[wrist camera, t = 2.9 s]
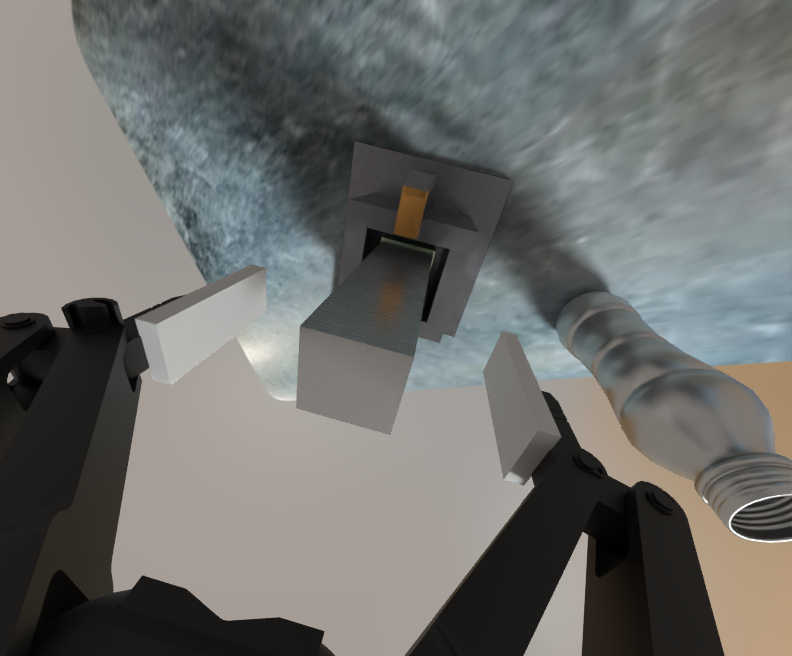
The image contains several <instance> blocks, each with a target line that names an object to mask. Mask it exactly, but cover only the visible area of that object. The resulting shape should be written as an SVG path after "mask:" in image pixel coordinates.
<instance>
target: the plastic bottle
mask: <svg viewBox="0 0 792 656" xmlns="http://www.w3.org/2000/svg"><path fill="white" fill-rule="evenodd" d="M556 330H557V333H558V336H559V339H560V342H561V343H562V345H563V346H564V347H565V348H566V349H567V350H568V351H569V352H570V353H571V354H572V355H573V356H574V357H576V358H577V359H578V360H580V361H581V362H582V364H583V365H584V366H585V367H586V368H587V369H588V370H589V371H590V372H591V373H592V374H593V375H594V377H595V378H596V380H597V381H598V383H599V385H600V386H601V388H602V389H603V391H604V393H605V394H606V396H607V398H608V400H609V402H610V404H611V406H612V408H613V410H614V412H615V415H616V417H617V419H618V421H619V423H620V425H621V428H622V429H623V431H624V433H625V434H626V436H627V438H628V440H629V441H630V443H631V444H632V446H633V447H635V448H636V449H637V450H638V451H639V452H640V453H642V454H643V455H644V456H645V457H647V458H648V459H649V460H650V461H652V462H654V463H656V464H657V465H659V466H661V467H663V468H665V469H667V470H669V471H671V472H673V473H675V474H677V475H679V476H682V477H684V478H687V479H689V480H691V481H694V482H695V483H694V487H695V490H696V491H697V493H698V495H699V496H700V497H701V499H702V500H703V501H704V502H705V503H706V504H707V505H709V506H710V507H711V508H712V509H713V511H714V512H715V513H716V514H717V516H718V517H719V518H720V520H721V521H722V522H723V524H724V525H725V526H726V527H727V528H728V529H729V530H730V531H731V532H732V533H733V534H735V535H736V536H738V537H740V538H743V539H746V540H750V541H755V542H786V541H792V460H790V459H788V458H787V457H784V456H782V455H779V454H776V450H775V433H774V428H773V424H772V419H771V416H770V413H769V411H768V409H767V408H766V407H765V405H764V404H763V403H762V401H761V400H760V398H759V397H758V396H757V395H756V394H755V393H754V391H753V390H751V389H750V388H748V387H747V386H745V385H743V384H742V383H740V382H739V381H737V380H735V379H734V378H732V377H730V376H729V375H727V374H724V373H723V372H721V371H719V370H717V369H715V368H713V367H711V366H709V365H707V364H706V363H704V362H702V361H700V360H698V359H696V358H694V357H692V356H690V355H688V354H686V353H685V352H683V351H682V350H680V349H679V348H677V347H676V346H674V345H672V344H671V343H669V342H668V341H666V340H665V339H663V338H662V337H660V336H659V335H658V334H657V333H656V332H655V331H654V330H653V329H652V328H651V327H650V326H648V325H647V324H646V323H645V322H644V321H643V320H642V318H641V317H640V315H639V314H638V312H637V311H636V310H635V309H634V308H633V307H632V306H631V305H630V304H629V302H628V301H626V300H625V299H623V298H622V297H619V296H616V295H613V294H610V293H607V292H602V291H595V292H588V293H585V294H582V295H579V296H577V297H576V298H574V299H572V300H571V301H570V302H568V303H567V304H566V305H565V306H564V307H563V309H562V310H561V312H560V313H559V315H558V318H557V322H556Z"/></svg>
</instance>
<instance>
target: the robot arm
mask: <svg viewBox="0 0 792 656" xmlns="http://www.w3.org/2000/svg"><path fill="white" fill-rule="evenodd" d="M62 311H63V314H64V316H65V318H66V320H67V323H68V325H69V327H70V328H59V327H58V328H57V327H53V326H52V324H51V321H50V319H49V317H48V316H46V315H44V314H40V313H17V314H10V315H7V316H4V317H0V656H335V655H334V654H333V653H332V652H331V651H330V650H329V649H328V648H327V647H326V646H324V645H323V644H322V639H323V635H324V631H322V630H318V629H315V628H312V627H309V626H306V625H302V624H299V623H296V622H293V621H289V620H286V619H283V618H279V617H278V618H263V619H248V620H234V621H226V620H222V619H221V618H219V617H218V616H217V615H216V614H214V613H213V612H212V611H211V610H210V609H209V608H207V606H205V605H204V604H203V603H202V602H201V601H200V600H198V599H197V598H196V597H195V596H194V595H193V594H192V593H190V592H189V591H188V590H187V589H185V588H182V587H178V586H175V585H172V584H169V583H165V582H162V581H159V580H155V579H152V578H149V577H146V576H142V577H141V578H140V579H139V581H138V582H137V583H136V585H135V586H134V587H133V588H132V589H130V590H125V591H120V592H115V593H113V581H112V573H111V563H112V555H113V549H114V544H115V538H116V532H117V525H118V519H119V514H120V508H121V502H122V495H123V490H124V484H125V478H126V472H127V466H128V460H129V455H130V449H131V443H132V437H133V431H134V425H135V419H136V413H137V407H138V401H139V395H140V389H141V383H142V380H141V376H140V373H142V372H143V371H145V370H147V369H148V368H149V370H150V374H151V377H152V380H154V381H157V382H161V383H165V384H168V385H172V384H173V383H175V382H176V381H177V380H179V379H180V378H181V377H183V376H184V375H185V374H186V373H188V372H189V371H190V370H191V369H193V368H194V367H196V366H197V365H198V364H200V363H201V362H202V361H204V360H205V359H206V358H207V357H209V356H210V355H211V354H212V353H214V352H215V351H217V350H218V349H219V348H221V347H222V346H223V345H224V344H226V343H227V342H228V341H230V340H231V339H232V338H234V337H235V336H236V335H238V334H239V333H240V332H242V331H243V330H244V329H246V328H247V327H248V326H249V325H251V324H252V323H253V322H255V321H256V320H257V319H259V318H260V317H261V316H263V315H264V314H265V313H266V268H263V267H259V266H256V265H250V266H248V267H246V268H244V269H242V270H239V271H237V272H235V273H233V274H231V275H229V276H226V277H224V278H222V279H220V280H218V281H216V282H213V283H211V284H209V285H207V286H205V287H203V288H200V289H198V290H196V291H194V292H192V293H189V294H187V295H183V296H178V297H174V298H171V299H169V300H167V301H164V302H162V303H161V304H158V305H155V306H154V307H152V308H149V309H146V310H144V311H142V312H140V313H138V314H135V315H133V316H131V317H128V318H126V319H124V320H123V319H122V315H121V313H120V309H119V306H118V303H117V302H116V301H114V300H113V299H107V298H86V299H81V300H77V301H73V302H70V303H68V304H66V305H64V306H63V307H62ZM10 372H11V374H12V375H13V377H14V379H13V380H12V381H11V382H9V383H7V378H8V374H9V373H10ZM483 373H484V378H485V384H486V389H487V394H488V399H489V405H490V410H491V415H492V420H493V426H494V431H495V436H496V441H497V446H498V452H499V457H500V462H501V467H502V473H503V478H504V480H507V481H510V482H513V483H517V484H521V485H525V483H526V482H527V481H528V480H529V478H530V477H531V476H532V479H533V482H534V486H535V487H534V488H533V489H532V490H531V492H530V493H529V494H528V496H527V497H526V498H525V499H524V500H523V502H522V503H521V505H520V506H519V507H518V509H517V510H516V511H515V513H514V514H513V515H512V516H511V518H510V519H509V521H508V522H507V523H506V524H505V526H504V527H503V528H502V530H501V531H500V532H499V533H498V535H497V536H496V537H495V539H494V540H493V541H492V543H491V544H490V545H489V546H488V548H487V549H486V550H485V552H484V553H483V554H482V556H481V557H480V558H479V560H478V561H477V562H476V563H475V565H474V566H473V567H472V569H471V570H470V571H469V573H468V574H467V575H466V576H465V578H464V579H463V580H462V582H461V583H460V584H459V586H458V587H457V588H456V589H455V591H454V592H453V593H452V595H451V596H450V597H449V599H448V600H447V601H446V603H445V604H444V605H443V606H442V608H441V609H440V610H439V612H438V613H437V614H436V615H435V617H434V618H433V619H432V621H431V622H430V623H429V625H428V626H427V627H426V629H425V630H424V631H423V632H422V634H421V635H420V636H419V638H418V639H417V640H416V642H415V643H414V644H413V645H412V647H411V648H410V649H409V651H408V652H407V653H406V655H405V656H523V655H524V653H525V651H526V649H527V647H528V645H529V643H530V641H531V638H532V637H533V634H534V632H535V630H536V628H537V626H538V624H539V622H540V620H541V618H542V616H543V614H544V611H545V609H546V607H547V605H548V603H549V601H550V599H551V597H552V595H553V592H554V591H555V588H556V586H557V584H558V582H559V580H560V578H561V576H562V574H563V572H564V570H565V567H566V565H567V563H568V561H569V559H570V557H571V555H572V553H573V551H574V549H575V547H576V545H577V542H578V540H579V538H580V536H581V534H582V532H584V533H586V534H588V550H587V569H586V587H585V588H586V589H585V606H584V624H583V642H582V656H724V652H723V648H722V645H721V641H720V637H719V634H718V630H717V626H716V623H715V619H714V615H713V611H712V608H711V604H710V601H709V597H708V593H707V590H706V586H705V583H704V578H703V574H702V571H701V567H700V564H699V560H698V556H697V552H696V549H695V546H694V541H693V537H692V534H691V530H690V527H689V523H688V519H687V517H686V515H685V512H684V511H683V509H682V508H681V507H680V505H679V504H678V503H677V502H676V501H675V500H674V499H673V498H672V497H671V496H670V495H669V494H668V493H666V492H665V491H663V490H662V489H661V488H659V487H658V486H655V485H653V484H651V483H649V482H644V481H640V482H637V483H636V484H635V485H634V486H632V487H628V486H627V485H625V484H623V483H621V482H619V481H617V480H615V479H613V478H611V477H610V476H608V474H607V472H606V470H605V468H604V466H603V465H602V464H601V462H600V461H599V460H598V459H597V458H596V457H594V456H593V455H592V454H591V453H589V452H587V451H586V450H584V449H582V448H581V447H580V445H579V443H578V441H577V439H576V437H575V435H574V433H573V431H572V429H571V427H570V425H569V423H568V422H567V419H566V417H565V415H564V414H563V411H562V409H561V407H560V405H559V403H558V401H556V399H555V398H554V397H553V396H552V395H551V394H550V393H547V392H544V391H541V390H540V387H539V385H538V383H537V381H536V378H535V376H534V374H533V371H532V369H531V367H530V365H529V362H528V360H527V358H526V356H525V353H524V351H523V349H522V347H521V344H520V342H519V340H518V337H517V335H514V334H510V333H506V332H503V331H502V333H501V335H500V337H499V339H498V342H497V344H496V346H495V348H494V350H493V352H492V354H491V356H490V358H489V360H488V362H487V365H486V367H485V369H484V371H483ZM320 646H321V647H320Z"/></svg>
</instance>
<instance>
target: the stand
mask: <svg viewBox="0 0 792 656" xmlns="http://www.w3.org/2000/svg"><path fill="white" fill-rule="evenodd" d="M512 184H513V181H512V180H508V179H504V178H500V177H496V176H492V175H488V174H484V173H480V172H476V171H472V170H468V169H464V168H460V167H456V166H452V165H448V164H444V163H440V162H436V161H432V160H428V159H424V158H420V157H416V156H412V155H408V154H404V153H400V152H396V151H392V150H388V149H384V148H380V147H376V146H372V145H368V144H364V143H360V142H356V141H355V143H354V151H353V160H352V168H351V177H350V185H349V194H348V202H347V211H346V220H345V228H344V237H343V245H342V254H341V262H340V271H339V279H338V286H339V285H340V284H341V283H342V282H343V281H344V280H345V279H346V278H347V277H348V276H349V275H350V274H351V273H352V272H353V271H354V270H355V269H356V268H357V267H358V265H359V264H360V263H361V262H362V261H363V260H364V259H365V258H366V257H367V256H368V255H369V254H370V253H371V252H372V251H373V250H374V249H375V248H376V247H377V246H378V245H379V244H380V243H381V239H382V237H383V236H384V235H385V234H389V233H390V234H394V235H398V236H402V237H405V238H409V239H413V240H417V241H421V242H425V243H428V244H432V245H435V246H436V252H435V256H434V259H433V263H432V266H431V270H430V274H429V279H428V285H427V290H426V295H425V301H424V306H423V312H422V317H421V323H420V328H419V334H418V337H420V338H424V339H428V340H431V341H435V342H439V343H440V341H441V338H442V335H443V334H446V335H449V336H453V337H454V336H455V333H456V330H457V328H458V325H459V323H460V320H461V317H462V315H463V312H464V310H465V307H466V304H467V302H468V299H469V296H470V294H471V291H472V289H473V286H474V283H475V281H476V278H477V276H478V273H479V270H480V268H481V265H482V262H483V260H484V257H485V255H486V252H487V249H488V247H489V244H490V242H491V239H492V236H493V234H494V231H495V228H496V226H497V223H498V221H499V218H500V215H501V213H502V210H503V207H504V205H505V202H506V200H507V197H508V194H509V192H510V189H511V187H512Z"/></svg>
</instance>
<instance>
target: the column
mask: <svg viewBox="0 0 792 656" xmlns="http://www.w3.org/2000/svg"><path fill="white" fill-rule="evenodd" d="M435 252H436V246H435V245H432V244H428V243H425V242H421V241H417V240H413V239H409V238H405V237H402V236H398V235H394V234H390V233H389V234H385V235H384V236H383V237H382V239H381V243H380V244H379V245H378V246H377V247H376V248H375V249H374V250H373V251H372V252H371V253H370V254H369V255H368V256H367V257H366V258H365V259H364V260H363V261H362V262H361V263H360V264H359V265H358V267H357V268H356V269H355V270H354V271H353V272H352V273H351V274H350V275H349V276H348V277H347V278H346V279H345V280H344V281H343V282H342V283H341V284H340V285H339V286H338V287H337V288H336V289H335V290H334V291H333V292H332V293H331V294H330V296H329V297H328V298H327V299H326V300H325V301H324V302H323V303H322V304H321V305H320V306H319V307H318V308H317V309H316V310H315V311H314V312H313V313H312V314H311V315H310V316H309V317H308V318H307V319H306V320H305V321H304V322H303V323H302V325H301V326H300V339H299V360H298V381H297V403H296V408H298V409H301V410H305V411H308V412H312V413H315V414H319V415H322V416H326V417H329V418H333V419H336V420H340V421H343V422H347V423H350V424H354V425H357V426H361V427H364V428H368V429H372V430H375V431H379V432H382V433H385V434H389V435H390V434H391V430H392V427H393V424H394V421H395V417H396V414H397V411H398V408H399V404H400V401H401V398H402V395H403V392H404V389H405V385H406V382H407V379H408V376H409V372H410V369H411V366H412V363H413V359H414V355H415V350H416V344H417V339H418V334H419V328H420V323H421V317H422V312H423V306H424V301H425V295H426V290H427V285H428V279H429V274H430V270H431V266H432V263H433V259H434V256H435Z"/></svg>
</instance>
